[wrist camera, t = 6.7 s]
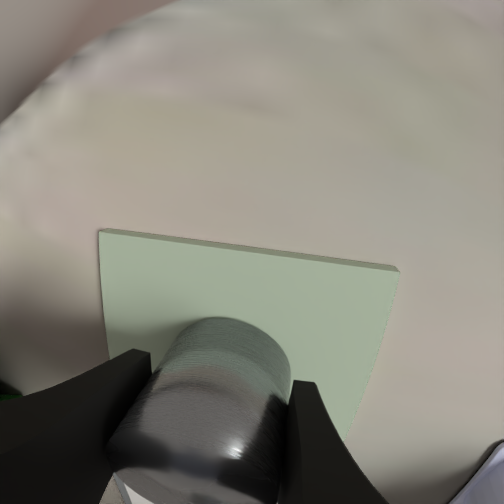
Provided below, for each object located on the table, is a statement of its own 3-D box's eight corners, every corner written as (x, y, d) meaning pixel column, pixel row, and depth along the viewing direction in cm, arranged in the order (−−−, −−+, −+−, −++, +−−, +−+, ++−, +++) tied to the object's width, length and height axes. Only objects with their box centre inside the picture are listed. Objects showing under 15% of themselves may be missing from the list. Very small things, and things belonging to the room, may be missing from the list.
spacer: (302, 331, 10) (296, 459, 5) (279, 422, 11) (263, 531, 7) (169, 306, 10) (89, 406, 6) (171, 399, 12) (121, 494, 7)
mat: (394, 266, 10) (400, 272, 9) (340, 438, 12) (341, 447, 11) (107, 228, 11) (98, 232, 10) (123, 397, 13) (118, 405, 12)
